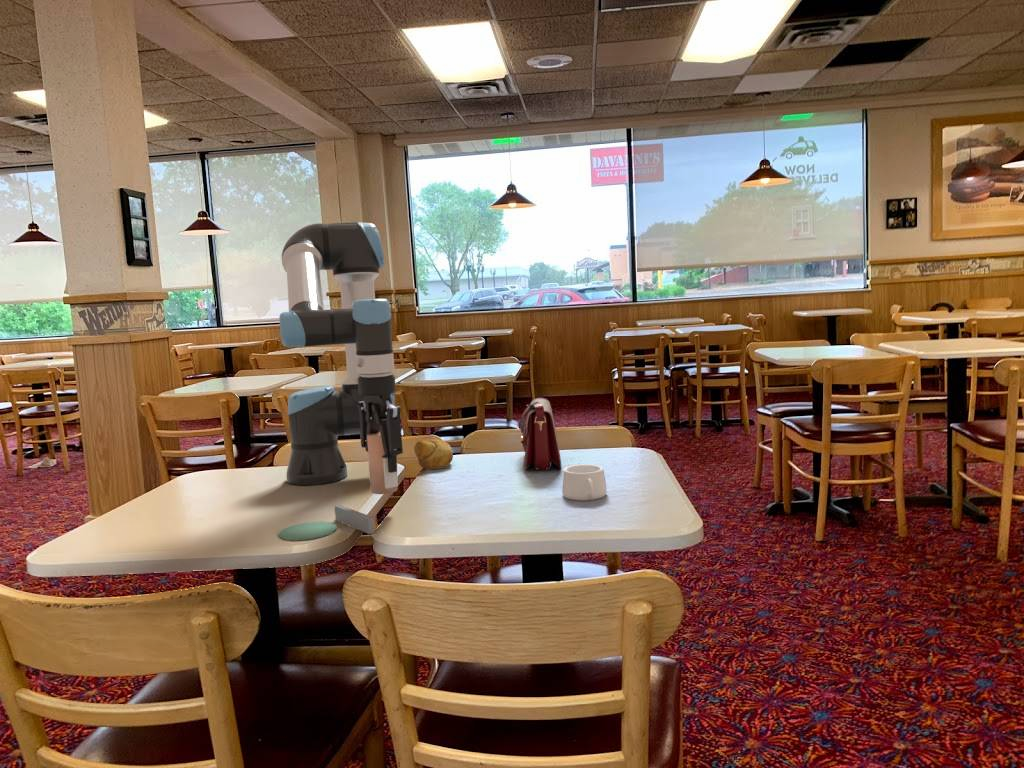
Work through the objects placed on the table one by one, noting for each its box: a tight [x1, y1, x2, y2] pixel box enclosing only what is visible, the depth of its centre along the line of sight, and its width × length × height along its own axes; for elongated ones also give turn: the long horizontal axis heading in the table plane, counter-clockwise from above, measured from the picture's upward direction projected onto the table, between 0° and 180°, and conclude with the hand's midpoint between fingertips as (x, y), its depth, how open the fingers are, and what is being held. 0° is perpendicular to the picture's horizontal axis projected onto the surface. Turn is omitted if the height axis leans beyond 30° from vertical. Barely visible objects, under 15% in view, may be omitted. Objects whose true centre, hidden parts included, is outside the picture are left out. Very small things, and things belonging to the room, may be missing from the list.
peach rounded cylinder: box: [367, 432, 399, 495], centre depth 158 cm, size 6×6×12 cm
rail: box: [334, 504, 376, 535], centre depth 150 cm, size 14×1×3 cm, turn 40°
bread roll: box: [413, 438, 454, 470], centre depth 202 cm, size 13×10×8 cm
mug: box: [561, 463, 608, 502], centre depth 163 cm, size 12×10×6 cm
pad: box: [278, 520, 338, 542], centre depth 148 cm, size 11×11×1 cm
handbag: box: [519, 397, 562, 471], centre depth 199 cm, size 28×11×17 cm, turn 178°
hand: (383, 484), depth 158 cm, fingers closed on peach rounded cylinder, 5 cm apart
